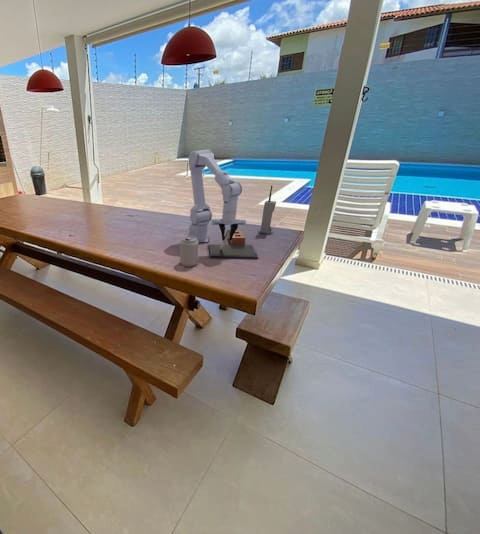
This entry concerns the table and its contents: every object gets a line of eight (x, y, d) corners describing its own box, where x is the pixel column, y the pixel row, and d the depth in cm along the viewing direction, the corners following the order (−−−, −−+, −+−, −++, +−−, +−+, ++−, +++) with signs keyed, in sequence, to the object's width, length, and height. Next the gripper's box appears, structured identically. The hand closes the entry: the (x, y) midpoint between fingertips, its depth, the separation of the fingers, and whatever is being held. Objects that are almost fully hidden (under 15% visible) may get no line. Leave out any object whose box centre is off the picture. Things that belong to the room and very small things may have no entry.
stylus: (219, 249, 143) (227, 230, 139) (219, 248, 145) (227, 229, 140) (222, 250, 143) (231, 231, 139) (222, 249, 145) (230, 230, 140)
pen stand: (231, 245, 151) (232, 237, 149) (228, 237, 160) (229, 230, 159) (244, 245, 150) (245, 237, 148) (240, 238, 159) (241, 230, 158)
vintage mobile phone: (270, 234, 162) (278, 186, 151) (260, 233, 164) (267, 185, 153) (271, 232, 164) (279, 184, 154) (261, 231, 167) (268, 184, 156)
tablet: (210, 257, 139) (210, 255, 139) (208, 246, 152) (208, 244, 151) (257, 258, 136) (257, 256, 135) (251, 247, 148) (251, 244, 147)
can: (177, 260, 138) (178, 235, 133) (194, 259, 139) (195, 234, 133) (182, 267, 132) (183, 241, 126) (199, 266, 132) (201, 240, 127)
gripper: (213, 213, 133) (211, 242, 139) (248, 213, 131) (244, 243, 136) (212, 209, 140) (209, 237, 145) (245, 209, 137) (242, 237, 143)
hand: (226, 239), depth 141 cm, fingers closed on stylus, 3 cm apart
